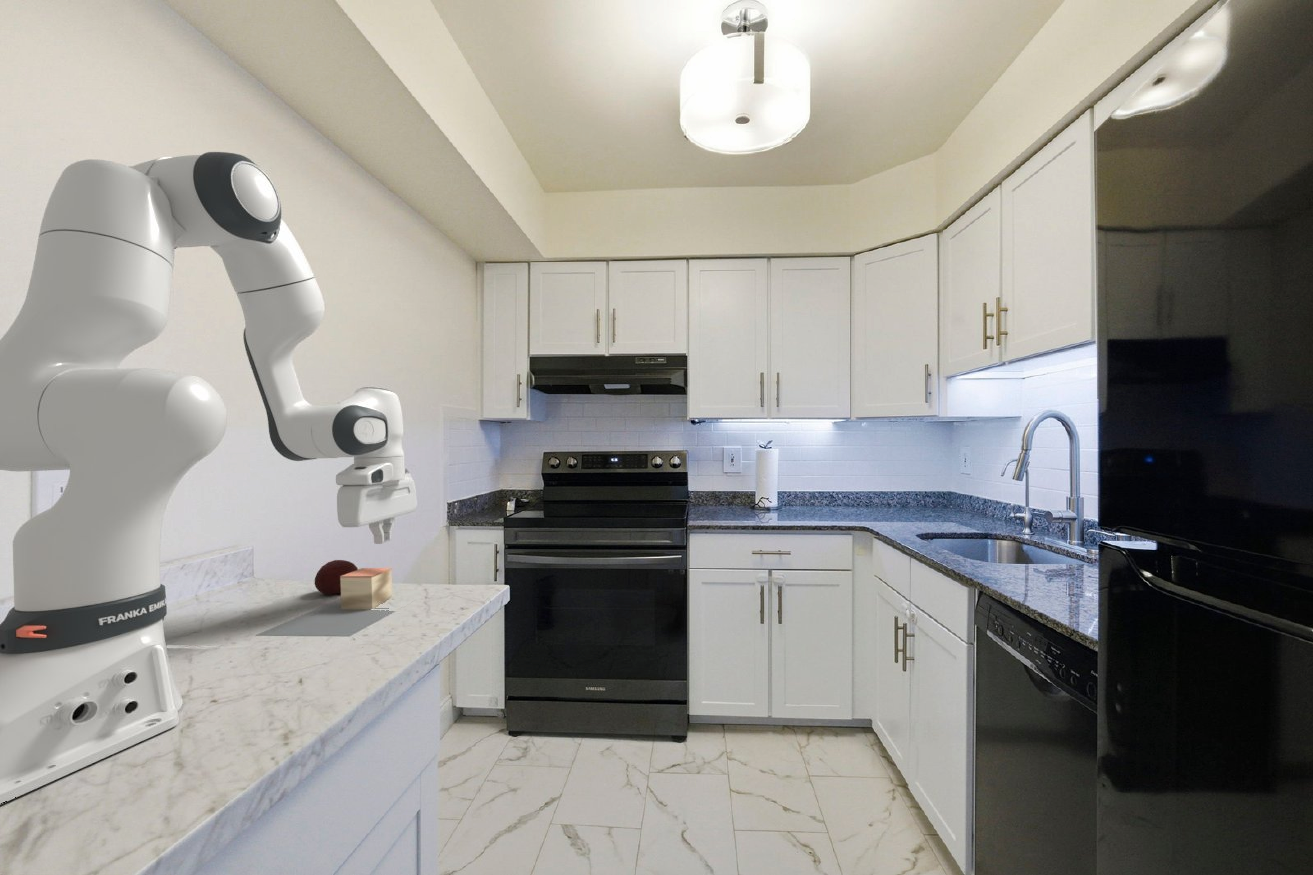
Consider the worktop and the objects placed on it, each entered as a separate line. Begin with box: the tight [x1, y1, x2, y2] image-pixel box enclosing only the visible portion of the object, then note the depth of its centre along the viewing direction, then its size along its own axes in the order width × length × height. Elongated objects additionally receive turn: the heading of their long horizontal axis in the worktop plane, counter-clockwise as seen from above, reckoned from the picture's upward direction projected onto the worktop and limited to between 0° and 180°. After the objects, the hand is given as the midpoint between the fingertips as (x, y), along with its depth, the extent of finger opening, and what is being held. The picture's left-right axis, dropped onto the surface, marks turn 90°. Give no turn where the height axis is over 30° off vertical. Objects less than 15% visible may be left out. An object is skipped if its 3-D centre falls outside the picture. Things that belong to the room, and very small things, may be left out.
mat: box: [255, 599, 395, 637], centre depth 94 cm, size 19×16×1 cm
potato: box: [314, 559, 359, 596], centre depth 110 cm, size 7×8×7 cm
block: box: [340, 567, 393, 609], centre depth 101 cm, size 6×6×6 cm
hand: (382, 542), depth 106 cm, fingers closed
